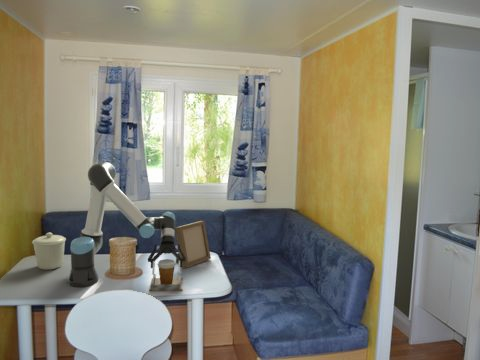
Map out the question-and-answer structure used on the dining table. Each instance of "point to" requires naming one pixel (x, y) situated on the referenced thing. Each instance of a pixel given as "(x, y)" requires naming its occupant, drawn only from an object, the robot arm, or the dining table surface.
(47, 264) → the canister
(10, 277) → the dining table surface
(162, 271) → the disposable coffee cup
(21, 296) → the dining table surface
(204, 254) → the photo frame
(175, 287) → the rail cradle
